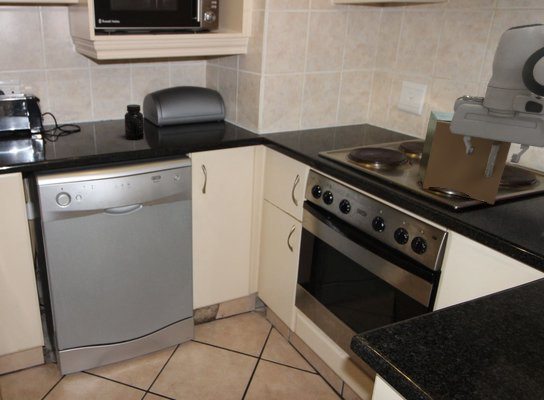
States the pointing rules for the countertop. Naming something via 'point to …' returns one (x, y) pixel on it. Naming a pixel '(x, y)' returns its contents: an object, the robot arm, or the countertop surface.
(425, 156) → the valve cabinet
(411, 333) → the countertop surface
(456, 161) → the door
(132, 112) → the supplement bottle
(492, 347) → the countertop surface
